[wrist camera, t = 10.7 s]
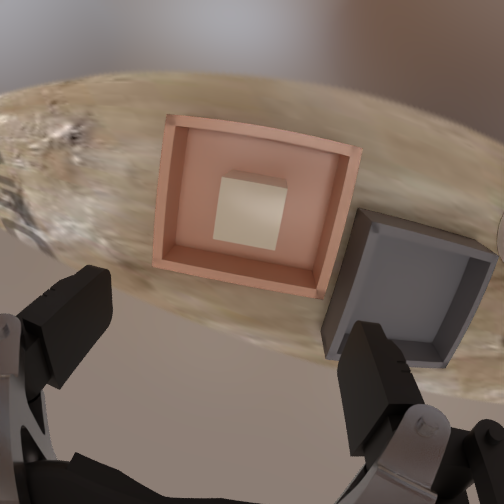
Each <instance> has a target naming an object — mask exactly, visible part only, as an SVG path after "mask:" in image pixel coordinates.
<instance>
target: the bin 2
mask: <svg viewBox="0 0 504 504" xmlns="http://www.w3.org/2000/svg"><path fill="white" fill-rule="evenodd" d="M498 258H499V256H498V255H497V254H495V253H494V252H492V251H491V250H490V249H488V248H487V247H485V246H484V245H482V244H481V243H479V242H478V241H476V240H474V239H471V238H467V237H464V236H461V235H458V234H454V233H451V232H448V231H444V230H441V229H437V228H434V227H430V226H427V225H423V224H420V223H416V222H412V221H409V220H405V219H401V218H397V217H393V216H390V215H386V214H382V213H378V212H374V211H370V210H366V209H361V208H358V209H357V213H356V217H355V221H354V224H353V228H352V232H351V235H350V239H349V243H348V246H347V250H346V253H345V257H344V260H343V263H342V267H341V270H340V273H339V277H338V280H337V283H336V286H335V289H334V292H333V296H332V299H331V302H330V305H329V308H328V311H327V314H326V317H325V320H324V323H323V325H322V328H321V336H322V342H323V347H324V353H325V359H328V360H337V361H339V359H340V356H341V354H342V352H343V349H344V347H345V345H346V342H347V340H348V337H349V335H350V332H351V330H352V327H353V325H354V323H355V322H356V321H357V320H360V321H367V322H374V323H379V324H380V325H381V326H382V328H383V331H384V333H385V335H386V337H387V340H392V341H393V342H394V343H395V344H396V345H397V346H398V348H399V349H400V350H401V351H402V353H403V355H404V357H405V359H406V364H408V366H409V367H421V368H446V366H447V365H448V363H449V361H450V360H451V358H452V356H453V354H454V353H455V351H456V349H457V347H458V346H459V344H460V342H461V340H462V338H463V336H464V334H465V333H466V331H467V329H468V327H469V325H470V323H471V321H472V319H473V317H474V315H475V313H476V310H477V308H478V306H479V304H480V302H481V300H482V297H483V295H484V293H485V291H486V288H487V286H488V283H489V281H490V279H491V276H492V274H493V271H494V269H495V266H496V263H497V261H498Z"/></svg>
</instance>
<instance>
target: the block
mask: <svg viewBox="0 0 504 504" xmlns="http://www.w3.org/2000/svg"><path fill="white" fill-rule="evenodd" d="M287 190H288V188H287V182H286V179H282V178H277V177H272V176H266V175H261V174H256V173H250V172H244V171H238V170H231V171H229V172H228V173H226V174H225V175H224V176H222V178H221V185H220V191H219V198H218V205H217V212H216V219H215V226H214V234H213V239H216V240H221V241H227V242H232V243H237V244H242V245H248V246H253V247H258V248H264V249H269V250H274V251H275V248H276V243H277V239H278V234H279V229H280V224H281V219H282V215H283V210H284V205H285V200H286V195H287Z"/></svg>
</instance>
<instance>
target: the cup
mask: <svg viewBox="0 0 504 504" xmlns="http://www.w3.org/2000/svg"><path fill="white" fill-rule="evenodd" d="M497 248H498V253H499V256H500V258H501V259H502V261H503V262H504V214H503V216H502V219H501V221H500V225H499V228H498V234H497Z"/></svg>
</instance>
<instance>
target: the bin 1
mask: <svg viewBox="0 0 504 504" xmlns="http://www.w3.org/2000/svg"><path fill="white" fill-rule="evenodd" d="M362 150H363V148H360V147H356V146H352V145H348V144H344V143H340V142H336V141H332V140H328V139H324V138H319V137H315V136H311V135H306V134H301V133H296V132H292V131H286V130H281V129H276V128H270V127H265V126H259V125H253V124H247V123H240V122H233V121H226V120H218V119H210V118H202V117H192V116H182V115H170V114H167V116H166V123H165V129H164V137H163V144H162V152H161V160H160V169H159V178H158V188H157V199H156V211H155V224H154V240H153V261H152V267H157V268H161V269H166V270H171V271H175V272H180V273H185V274H190V275H194V276H199V277H204V278H209V279H214V280H219V281H224V282H229V283H234V284H240V285H245V286H250V287H255V288H260V289H266V290H271V291H277V292H282V293H288V294H293V295H299V296H305V297H310V298H316V299H322V300H323V299H324V296H325V293H326V290H327V286H328V283H329V280H330V276H331V273H332V270H333V266H334V263H335V259H336V256H337V252H338V249H339V245H340V241H341V238H342V234H343V230H344V227H345V223H346V219H347V215H348V211H349V207H350V203H351V199H352V195H353V191H354V186H355V182H356V178H357V173H358V169H359V164H360V160H361V155H362ZM231 170H238V171H244V172H250V173H256V174H261V175H266V176H272V177H277V178H282V179H286V182H287V188H288V190H287V195H286V200H285V205H284V210H283V215H282V219H281V224H280V229H279V234H278V239H277V243H276V248H275V251H274V250H269V249H264V248H258V247H253V246H248V245H242V244H237V243H232V242H227V241H221V240H216V239H213V234H214V226H215V219H216V212H217V205H218V198H219V191H220V185H221V178H222V176H224V175H225V174H226V173H228V172H229V171H231Z"/></svg>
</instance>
